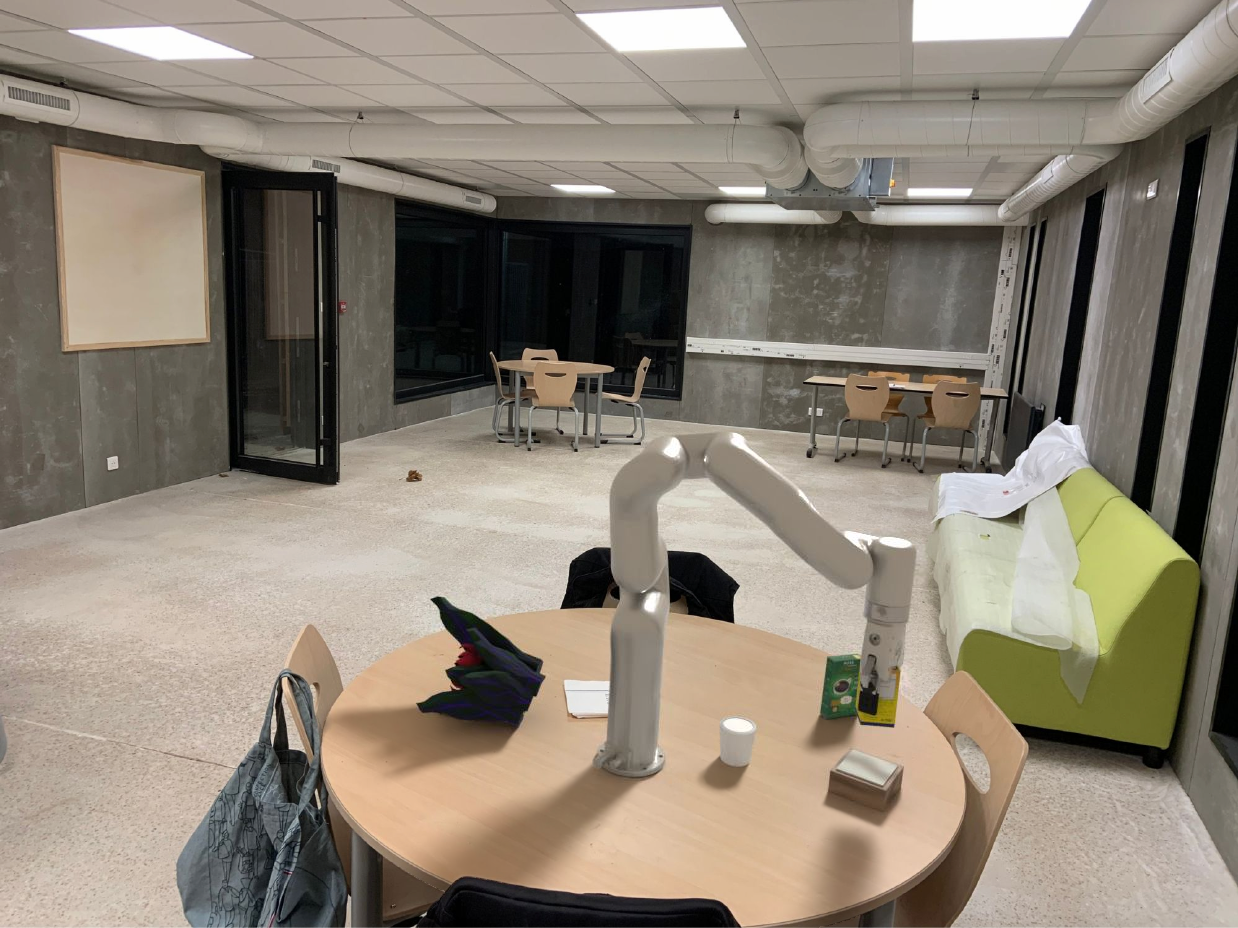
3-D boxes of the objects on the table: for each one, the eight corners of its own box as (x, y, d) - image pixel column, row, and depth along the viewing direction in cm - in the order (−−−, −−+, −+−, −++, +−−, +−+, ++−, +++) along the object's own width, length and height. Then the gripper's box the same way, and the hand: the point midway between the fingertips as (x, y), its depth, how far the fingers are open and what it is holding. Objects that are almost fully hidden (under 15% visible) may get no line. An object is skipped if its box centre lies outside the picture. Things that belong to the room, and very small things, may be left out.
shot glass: (725, 770, 162) (728, 735, 161) (711, 750, 169) (714, 717, 167) (759, 766, 164) (762, 731, 163) (744, 747, 170) (747, 714, 169)
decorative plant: (506, 778, 172) (367, 720, 176) (553, 679, 193) (428, 629, 196) (521, 716, 160) (371, 655, 163) (569, 618, 180) (435, 565, 183)
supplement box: (887, 712, 158) (894, 655, 156) (894, 728, 152) (901, 670, 150) (854, 709, 159) (860, 652, 157) (859, 725, 153) (866, 667, 151)
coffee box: (851, 709, 188) (858, 651, 186) (859, 715, 186) (866, 657, 183) (819, 713, 186) (825, 655, 183) (826, 720, 183) (833, 661, 180)
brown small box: (883, 811, 152) (886, 789, 151) (827, 790, 157) (830, 768, 156) (901, 786, 160) (904, 764, 159) (848, 767, 165) (850, 746, 164)
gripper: (892, 630, 142) (880, 729, 146) (923, 601, 156) (911, 692, 160) (847, 618, 147) (836, 715, 150) (881, 591, 161) (871, 680, 164)
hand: (875, 703), depth 155 cm, fingers closed on supplement box, 8 cm apart
